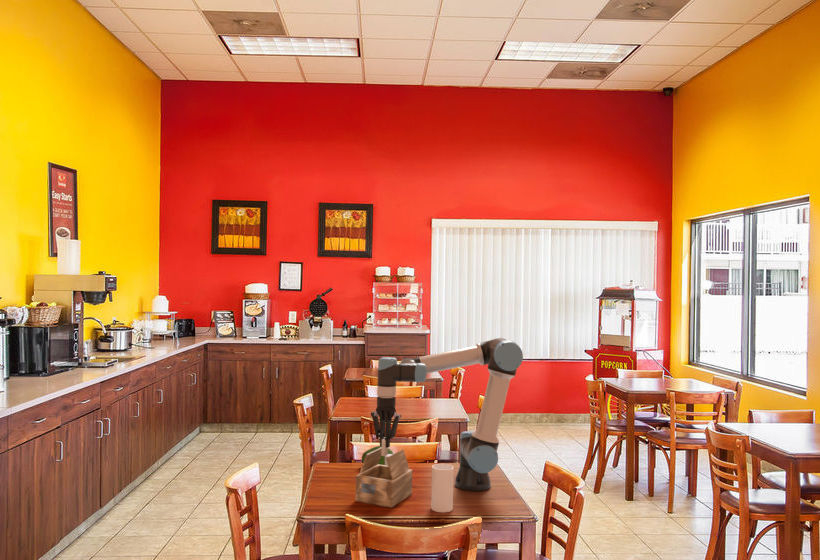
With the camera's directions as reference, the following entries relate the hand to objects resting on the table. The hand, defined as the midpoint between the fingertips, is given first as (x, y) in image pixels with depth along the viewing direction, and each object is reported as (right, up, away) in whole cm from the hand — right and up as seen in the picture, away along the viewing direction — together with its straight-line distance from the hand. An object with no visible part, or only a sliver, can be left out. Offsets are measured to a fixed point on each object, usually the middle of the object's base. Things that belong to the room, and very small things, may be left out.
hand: (384, 455), depth 249 cm
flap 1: (-6, -6, +3) cm, 10 cm away
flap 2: (+7, -7, -3) cm, 10 cm away
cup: (+22, -18, -11) cm, 31 cm away
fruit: (-5, -18, +41) cm, 45 cm away
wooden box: (0, -17, 0) cm, 17 cm away
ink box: (+4, -18, +19) cm, 26 cm away
